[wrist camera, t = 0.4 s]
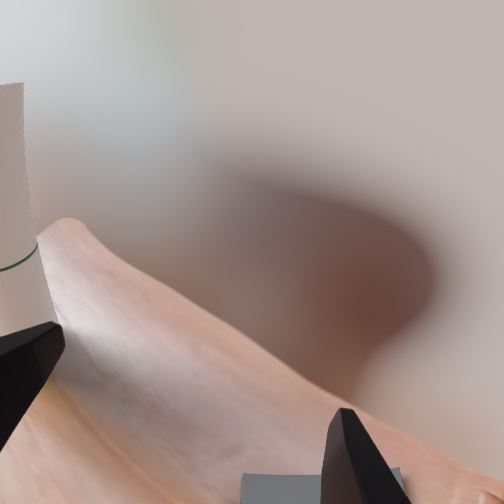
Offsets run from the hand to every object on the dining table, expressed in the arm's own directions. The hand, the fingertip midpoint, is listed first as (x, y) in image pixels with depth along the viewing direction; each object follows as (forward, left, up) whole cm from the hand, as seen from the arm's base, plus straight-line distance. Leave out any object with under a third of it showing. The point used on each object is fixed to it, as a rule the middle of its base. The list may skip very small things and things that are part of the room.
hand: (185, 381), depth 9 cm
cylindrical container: (+13, +20, -16) cm, 29 cm away
